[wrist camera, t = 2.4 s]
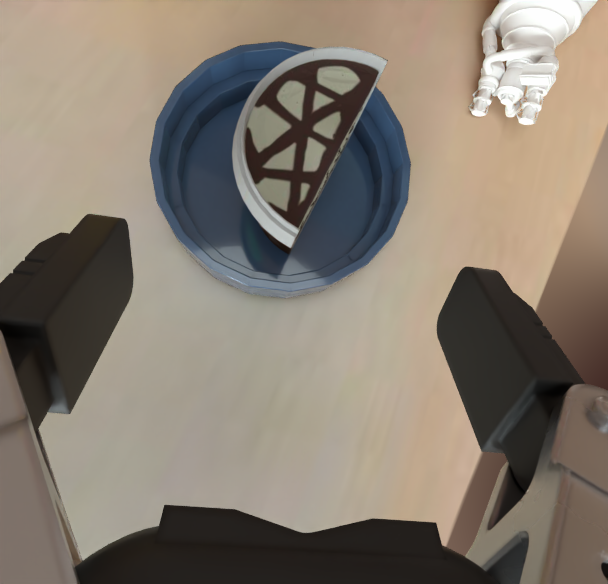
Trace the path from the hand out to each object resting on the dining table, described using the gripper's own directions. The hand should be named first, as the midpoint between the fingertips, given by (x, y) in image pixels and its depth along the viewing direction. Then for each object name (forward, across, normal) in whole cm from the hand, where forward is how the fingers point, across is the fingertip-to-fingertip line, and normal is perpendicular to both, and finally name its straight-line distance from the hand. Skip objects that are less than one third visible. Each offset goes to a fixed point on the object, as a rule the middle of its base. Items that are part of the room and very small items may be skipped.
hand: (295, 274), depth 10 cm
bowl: (+23, 0, +8) cm, 24 cm away
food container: (+22, 0, +7) cm, 24 cm away
